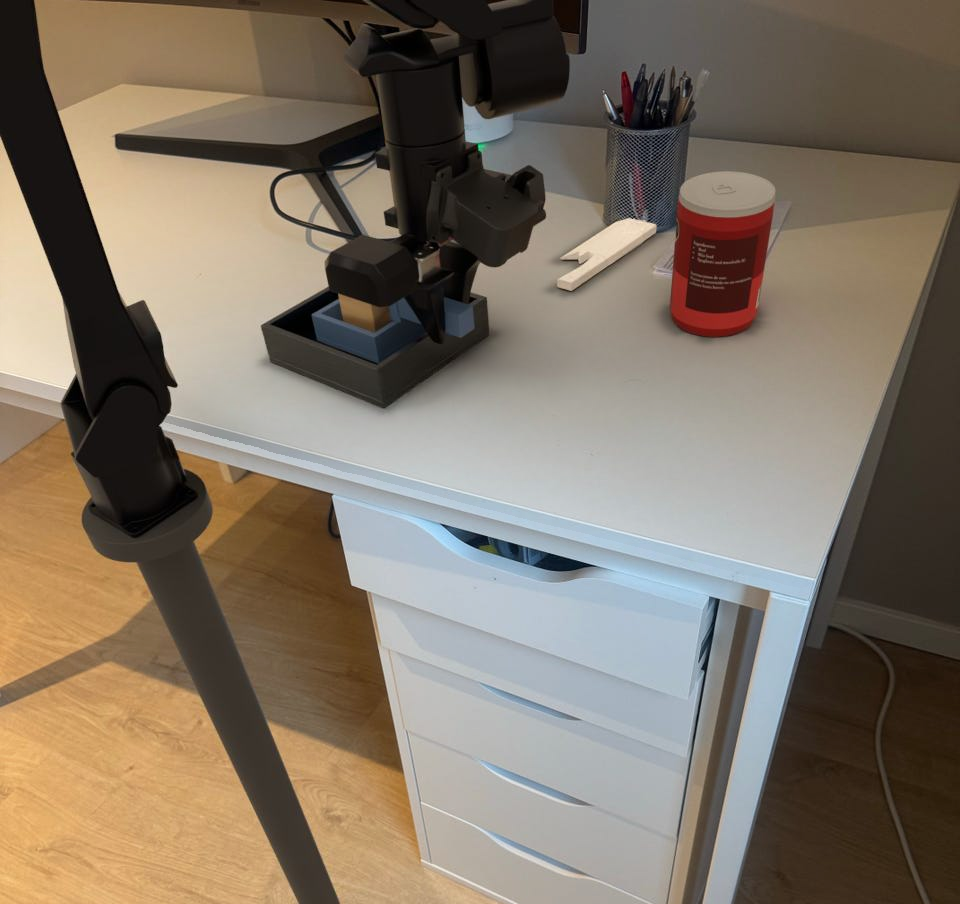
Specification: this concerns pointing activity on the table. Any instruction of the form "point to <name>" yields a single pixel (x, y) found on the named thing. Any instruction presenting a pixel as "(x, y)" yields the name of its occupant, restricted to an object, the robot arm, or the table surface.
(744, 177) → the canned food
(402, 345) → the scoop
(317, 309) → the black square tray
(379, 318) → the block
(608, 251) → the white plastic blade
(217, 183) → the table surface
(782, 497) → the table surface
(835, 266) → the table surface
